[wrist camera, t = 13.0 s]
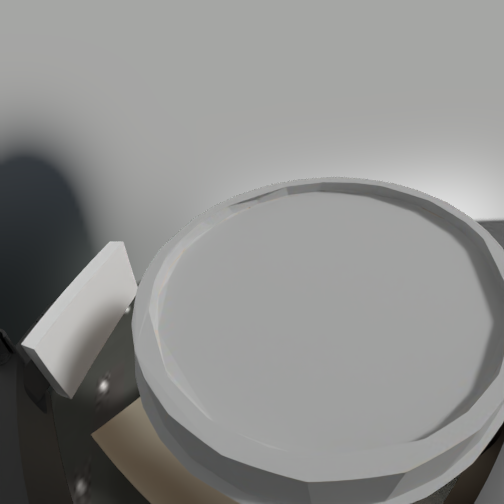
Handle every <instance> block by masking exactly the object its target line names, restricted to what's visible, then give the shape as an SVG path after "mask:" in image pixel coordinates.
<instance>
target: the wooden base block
mask: <svg viewBox="0 0 504 504" xmlns="http://www.w3.org/2000/svg"><path fill="white" fill-rule="evenodd" d="M91 436H92V437H93V438H94V440H95V441H96V442H97V443H98V445H99V446H100V447H101V449H102V450H103V451H104V452H105V454H106V455H107V456H108V457H109V458H110V460H111V461H112V462H113V463H114V464H115V466H116V467H117V468H118V469H119V470H120V471H121V472H122V474H123V475H124V476H125V477H126V478H127V479H128V480H129V481H130V482H131V483H132V485H133V486H134V487H135V488H136V489H137V490H138V491H139V492H140V493H141V494H142V495H143V496H144V497H145V498H146V499H147V500H148V501H149V502H150V503H151V504H240V503H239V502H237V501H235V500H233V499H231V498H230V497H228V496H226V495H224V494H223V493H221V492H219V491H217V490H216V489H214V488H212V487H211V486H209V485H208V484H206V483H204V482H203V481H201V480H200V479H198V478H197V477H195V476H193V475H192V474H191V473H190V472H189V471H188V470H187V469H186V468H185V467H184V466H183V465H182V464H181V463H180V462H179V461H178V459H177V458H176V457H175V456H174V455H173V454H172V453H171V452H170V450H169V449H168V448H167V447H166V446H165V445H164V443H163V442H162V441H161V440H160V438H159V436H158V435H157V433H156V431H155V429H154V427H153V425H152V424H151V422H150V420H149V418H148V416H147V414H146V412H145V410H144V408H143V405H142V401H141V397H139V398H138V399H137V400H136V401H134V402H133V403H132V404H130V405H129V406H128V407H127V408H125V409H124V410H123V411H121V412H120V413H119V414H117V415H116V416H115V417H114V418H112V419H111V420H110V421H108V422H107V423H106V424H104V425H103V426H102V427H100V428H99V429H98V430H96V431H95V432H94V433H92V434H91Z"/></svg>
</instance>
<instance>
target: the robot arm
mask: <svg viewBox="0 0 504 504" xmlns="http://www.w3.org/2000/svg"><path fill="white" fill-rule="evenodd" d="M137 289H138V287H137V284H136V281H135V278H134V275H133V272H132V269H131V266H130V262H129V259H128V256H127V252H126V249H125V246H124V243H123V242H109V243H108V244H107V245H106V246H105V247H104V248H103V249H102V250H101V251H100V252H99V253H98V254H97V256H96V257H95V258H94V259H93V260H92V261H91V262H90V263H89V264H88V265H87V266H86V267H85V269H84V270H83V271H82V272H81V273H80V274H79V275H78V276H77V277H76V278H75V280H74V281H73V282H72V283H71V284H70V285H69V286H68V287H67V288H66V290H65V291H64V292H63V293H62V294H61V295H60V297H59V298H58V299H56V300H55V301H53V302H52V303H51V304H50V305H48V306H47V308H46V309H45V310H44V311H43V312H42V314H41V316H39V317H38V319H37V320H36V322H34V324H33V325H32V326H31V327H30V328H29V330H28V331H27V332H26V334H25V335H24V336H23V337H22V338H21V340H20V341H19V342H18V344H17V345H16V346H14V345H13V343H12V342H11V340H10V339H9V337H8V336H7V334H6V333H5V331H4V330H2V329H0V504H73V501H72V498H71V494H70V491H69V487H68V484H67V480H66V476H65V472H64V468H63V464H62V460H61V455H60V451H59V446H58V441H57V435H56V430H55V424H54V417H53V410H52V403H51V396H50V393H49V391H48V390H47V389H48V387H49V386H50V385H51V386H52V388H53V389H54V390H55V391H56V393H57V394H59V395H62V396H64V397H67V398H69V399H72V398H73V396H74V394H75V392H76V391H77V389H78V387H79V385H80V384H81V382H82V380H83V379H84V377H85V375H86V373H87V372H88V370H89V368H90V367H91V365H92V363H93V362H94V360H95V358H96V357H97V355H98V353H99V352H100V350H101V349H102V347H103V345H104V344H105V342H106V340H107V339H108V337H109V336H110V334H111V332H112V331H113V329H114V328H115V326H116V325H117V323H118V321H119V320H120V318H121V317H122V315H123V314H124V312H125V311H126V309H127V308H128V306H129V305H130V303H131V302H132V300H133V299H134V297H135V296H136V292H137ZM443 504H504V422H503V423H502V425H501V426H500V428H499V429H498V431H497V432H496V434H495V435H494V436H493V438H492V439H491V441H490V442H489V443H488V445H487V446H486V447H485V449H484V450H483V451H482V453H481V454H480V455H479V456H478V458H477V459H476V460H475V461H474V463H473V464H472V465H470V466H469V467H468V468H467V469H465V470H464V471H463V472H462V474H461V475H460V477H459V479H458V481H457V482H456V484H455V486H454V487H453V489H452V490H451V492H450V494H449V495H448V497H447V498H446V500H445V501H444V503H443Z"/></svg>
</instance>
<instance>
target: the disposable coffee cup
mask: <svg viewBox="0 0 504 504" xmlns="http://www.w3.org/2000/svg"><path fill="white" fill-rule="evenodd" d="M132 332H133V340H134V348H135V375H136V381H137V385H138V389H139V393H140V397H141V401H142V405H143V408H144V410H145V412H146V414H147V416H148V418H149V420H150V422H151V424H152V425H153V427H154V429H155V431H156V433H157V435H158V436H159V438H160V440H161V441H162V442H163V443H164V445H165V446H166V447H167V448H168V449H169V450H170V452H171V453H172V454H173V455H174V456H175V457H176V458H177V459H178V461H179V462H180V463H181V464H182V465H183V466H184V467H185V468H186V469H187V470H188V471H189V472H190V473H191V474H192V475H193V476H195V477H197V478H198V479H200V480H201V481H203V482H204V483H206V484H208V485H209V486H211V487H212V488H214V489H216V490H217V491H219V492H221V493H223V494H224V495H226V496H228V497H230V498H231V499H233V500H235V501H237V502H239V503H240V504H411V503H413V502H416V501H418V500H421V499H423V498H426V497H428V496H429V495H431V494H432V493H434V492H435V491H437V490H438V489H440V488H441V487H442V486H444V485H445V484H447V483H448V482H449V481H451V480H452V479H454V478H455V477H456V476H458V475H459V474H460V473H461V472H463V471H464V470H465V469H467V468H468V467H469V466H470V465H472V464H473V463H474V461H475V460H476V459H477V458H478V456H479V455H480V454H481V453H482V451H483V450H484V449H485V447H486V446H487V445H488V443H489V442H490V441H491V439H492V438H493V436H494V435H495V434H496V432H497V431H498V429H499V428H500V426H501V425H502V423H503V422H504V250H503V248H502V247H501V246H500V245H499V243H498V242H497V241H496V240H495V239H494V238H493V237H492V236H491V235H490V234H489V233H488V231H487V230H485V229H484V228H483V227H482V226H481V225H479V224H478V223H477V222H476V221H474V220H473V219H472V218H471V217H469V216H468V215H466V214H464V213H463V212H461V211H460V210H458V209H456V208H455V207H454V206H452V205H450V204H448V203H447V202H445V201H442V200H440V199H438V198H435V197H433V196H430V195H428V194H426V193H423V192H420V191H418V190H415V189H411V188H408V187H404V186H401V185H397V184H394V183H388V182H382V181H376V180H368V179H360V178H345V177H327V178H312V179H301V180H293V181H288V182H283V183H278V184H272V185H269V186H265V187H261V188H258V189H254V190H252V191H249V192H246V193H243V194H240V195H237V196H235V197H233V198H230V199H228V200H226V201H224V202H222V203H219V204H217V205H215V206H214V207H212V208H210V209H209V210H207V211H205V212H204V213H202V214H200V215H199V216H197V217H195V218H194V219H193V220H191V221H190V222H189V223H188V224H187V225H186V226H184V227H183V228H182V229H181V230H180V231H179V232H178V233H177V234H175V235H174V236H173V237H172V238H171V239H170V240H169V241H168V242H167V243H166V244H165V245H163V247H161V248H160V250H159V251H158V253H157V254H156V256H155V257H154V258H153V260H152V261H151V263H150V264H149V266H148V267H147V270H146V271H145V274H144V276H143V278H142V280H141V282H140V284H139V286H138V289H137V292H136V298H135V305H134V311H133V318H132Z"/></svg>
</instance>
